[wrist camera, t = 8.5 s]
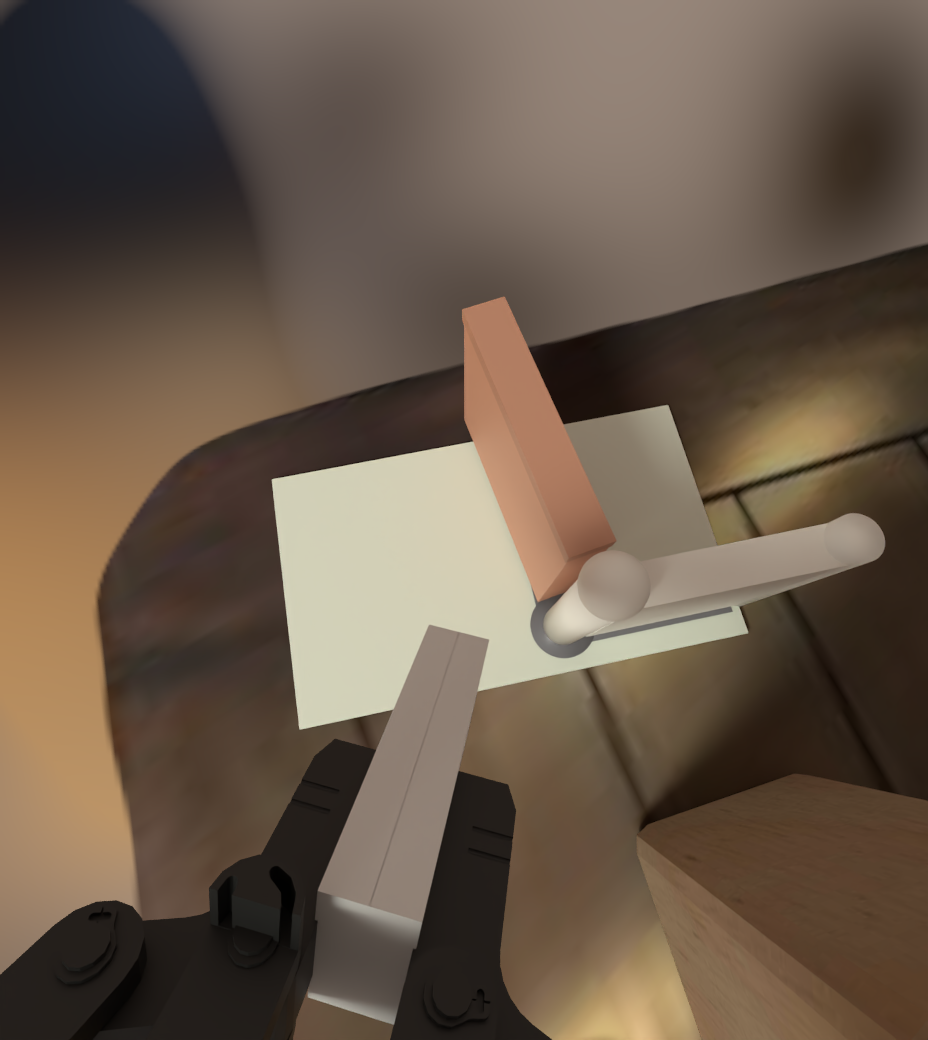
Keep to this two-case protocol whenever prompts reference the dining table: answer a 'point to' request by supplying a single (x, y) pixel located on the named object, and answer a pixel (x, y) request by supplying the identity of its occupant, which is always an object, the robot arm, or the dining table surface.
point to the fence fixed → (706, 577)
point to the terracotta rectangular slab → (528, 453)
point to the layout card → (467, 564)
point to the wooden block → (797, 911)
